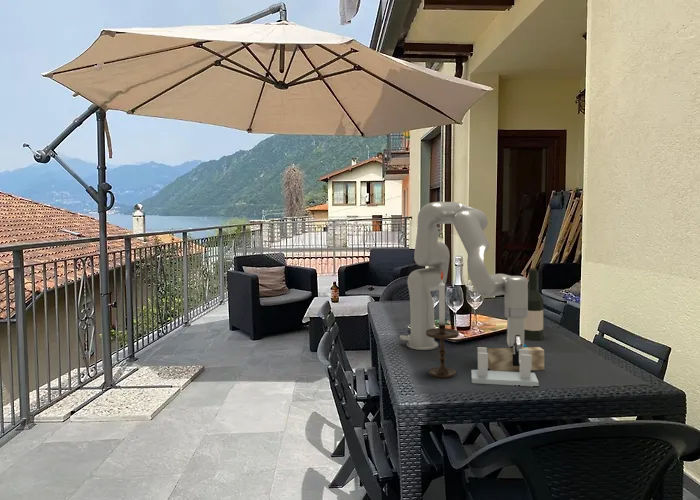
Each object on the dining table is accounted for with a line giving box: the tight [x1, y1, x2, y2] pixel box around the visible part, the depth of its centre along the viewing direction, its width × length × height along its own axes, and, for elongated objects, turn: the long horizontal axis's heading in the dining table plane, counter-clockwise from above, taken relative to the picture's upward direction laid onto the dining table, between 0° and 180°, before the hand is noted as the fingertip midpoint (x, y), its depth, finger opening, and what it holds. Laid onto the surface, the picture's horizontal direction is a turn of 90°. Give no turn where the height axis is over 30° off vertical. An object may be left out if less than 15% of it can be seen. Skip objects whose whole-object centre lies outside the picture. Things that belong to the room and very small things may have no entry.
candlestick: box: [426, 271, 460, 379], centre depth 165 cm, size 11×11×35 cm
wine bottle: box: [524, 267, 544, 341], centre depth 209 cm, size 8×8×30 cm
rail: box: [487, 346, 545, 372], centre depth 170 cm, size 18×4×7 cm, turn 91°
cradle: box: [470, 346, 540, 387], centre depth 158 cm, size 20×9×10 cm, turn 77°
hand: (516, 361), depth 170 cm, fingers open, 9 cm apart
